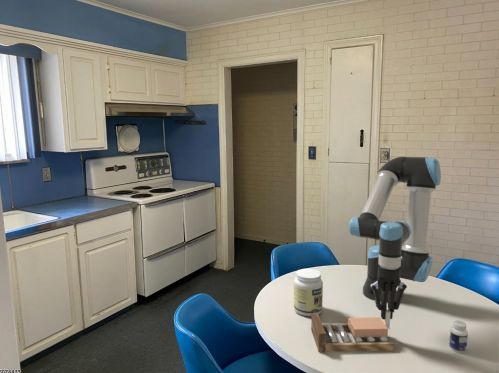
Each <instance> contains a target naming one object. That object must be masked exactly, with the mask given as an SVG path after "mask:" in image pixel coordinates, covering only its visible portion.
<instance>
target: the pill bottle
mask: <svg viewBox="0 0 499 373" xmlns="http://www.w3.org/2000/svg"><path fill="white" fill-rule="evenodd" d="M449 331H450V332H449V343H448V344H449V346H448V347H449V349H450V350H452V351H453V352H455V353H458V354H459V353H460V354H463V353H466V352H467V349H468V338H469V332H468V330H467V323H466V322H464V321H462V320H454V321H453V323H452V326H451V327H450V330H449Z"/></svg>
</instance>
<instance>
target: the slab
mask: <svg viewBox="0 0 499 373" xmlns="http://www.w3.org/2000/svg"><path fill="white" fill-rule="evenodd" d="M347 321H348V322H347V323H348V326H349V328H350V330H351V332H352V334H353V336H354V337H361V338H366V337H373V338H376V337H377V338H378V337H383V336H385V337H388V334H389V329H388V328H387V327H386V325H385V324H384V322H383V319H382V318H381V316H380V317H348V320H347ZM351 332H350V333H351ZM352 334H351V335H352ZM353 336H352V337H353Z"/></svg>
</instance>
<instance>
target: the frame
mask: <svg viewBox="0 0 499 373" xmlns="http://www.w3.org/2000/svg"><path fill="white" fill-rule="evenodd" d="M322 322H323V321H322V320H321V318H320V316H319V314H318V313H312V316H311V328H310V329H311V333H312V336H313V339H314V342H315V345H316V349H317V351H318V353H333V352H334V353H338V352H340V353H341V352H343V353H344V352H345V353H346V352H383V351H384V352H385V351H387V352H389V351H394V349H395V348H394V346H395V345H394V342H393V341H388V342H381V341H376V342H368V341H363V342H359V343H356V342H350V343H343V342H338V343H331V342H327V341H326V339H327V332H326V330H325V327H324V326H325V325H326V324H327V323H322ZM329 324H330V326H331V328H332V330H333V332H338V330H337V328H336V325H337V324H339V322H335V323H333V322H332V323H329ZM340 324H342V326H343V328H344V330H345V332H350V330H349V328H348V322H346V323H345V322H342V323H340Z"/></svg>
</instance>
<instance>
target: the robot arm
mask: <svg viewBox="0 0 499 373" xmlns="http://www.w3.org/2000/svg"><path fill="white" fill-rule="evenodd" d="M441 177H442V176H441V165H440V162H439V160H438V159H437V158H433V157H428V156H427V157H419V156H418V157H417V156H397V157H394V158H392V159H390V160H388V161H387V162H386V163H384V164H383V165H382V166H381V167H380V168H379V170H378V171H377V173H376V175H375V179H376V181H375V183H374V185H373V187H372V190H371V191H370V194H369V196H368V198H367V200H366V203H365V204H364V207H363V208H362V210H361V213H360V216H359V217H358V216H353V217H351V219H350V221H349V224H348V231H349V234H350V235H352V236H353V237H354V236H355V237H358V238H364V239H370V240H377V241H379V242H378V243H379V244H376V245H372V246H370V247H369V249H368V254H367V272H366V273H367V274H366V275H367V276H366V278H365V281H364V284H363V287H362V295H364V297H366V298H367V299H371V300H373V301H374V304H375V307H376V308H377V310H378V311H380V318H381V320H382V321H383V322H384V324H385V325H386V327H387V328H388V330H389V329H391V328H390V327H391V320H393V313H395V310H396V311H397V310H399V308H400V305H401V302H402V299H403V296H404V292H405V290H406V289H407V287H408V286H407V285H406V284H405V282H402V280H401V279H403V280H408V281H412V282H417V283H418V282H419V283H425V282H426V281H427V280H428V278H429V276H430V273H431V269H432V266H433V257H432V256H431V255H430V251H429V250H428V249H427V236H428V227H429V216H430V208H431V198H432V197H431V196H432V193H433V192H434V191H435V190H436V186H440V185H441V180H442V178H441ZM399 183H404V184H405V183H406V188H407V190H408V191H409V194H408V195H409V196H408V205H407V206H408V207H407V215H406V216H407V217H406V221H404V220H398V221H394V222H392V221H386V220H380V219H381V217H382V214H383V212H384V210H385V207H386V205H387V202H388V201H389V198H390V196H391V194H392V191H393V189H394V188H395V187H396V186H397V185H398V184H399ZM403 244H404V245H403Z"/></svg>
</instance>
